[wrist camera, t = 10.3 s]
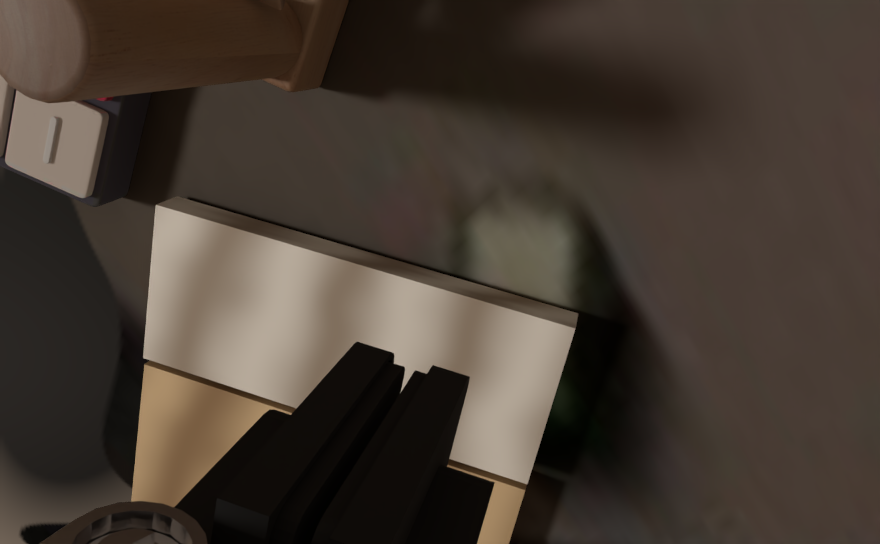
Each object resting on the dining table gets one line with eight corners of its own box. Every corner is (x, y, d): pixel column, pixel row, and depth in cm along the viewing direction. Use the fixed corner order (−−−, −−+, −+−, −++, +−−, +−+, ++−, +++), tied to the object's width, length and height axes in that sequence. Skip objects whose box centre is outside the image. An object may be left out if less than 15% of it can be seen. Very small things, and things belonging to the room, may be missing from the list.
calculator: (89, 214, 39) (-169, 100, 40) (136, 196, 43) (-99, 93, 44) (136, 1, 35) (-151, -121, 36) (182, 3, 39) (-76, -107, 40)
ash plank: (578, 313, 38) (575, 328, 36) (532, 463, 41) (527, 484, 39) (177, 196, 41) (155, 204, 39) (163, 343, 44) (143, 357, 42)
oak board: (530, 469, 41) (525, 490, 39) (486, 611, 44) (480, 636, 43) (164, 350, 44) (144, 364, 42) (149, 491, 48) (130, 509, 46)
